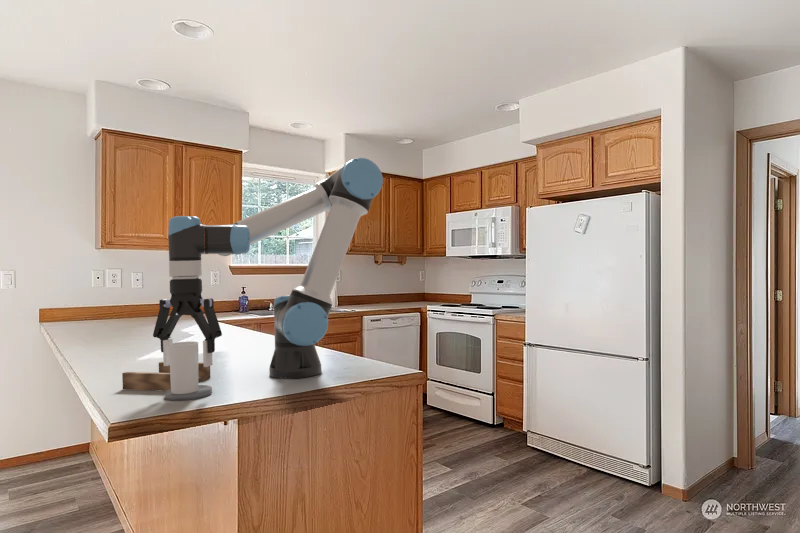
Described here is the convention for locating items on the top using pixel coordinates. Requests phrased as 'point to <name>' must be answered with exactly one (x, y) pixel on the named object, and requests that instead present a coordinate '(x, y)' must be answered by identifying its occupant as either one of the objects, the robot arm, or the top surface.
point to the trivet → (189, 394)
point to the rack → (157, 378)
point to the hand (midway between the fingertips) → (188, 365)
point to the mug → (183, 367)
